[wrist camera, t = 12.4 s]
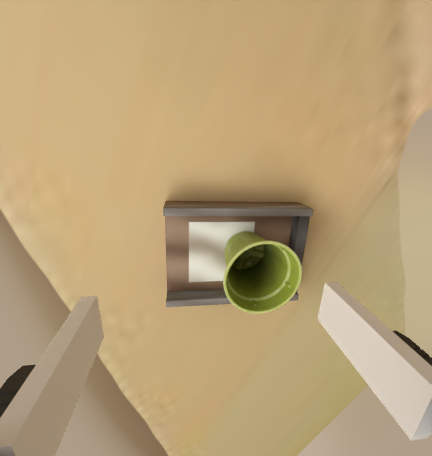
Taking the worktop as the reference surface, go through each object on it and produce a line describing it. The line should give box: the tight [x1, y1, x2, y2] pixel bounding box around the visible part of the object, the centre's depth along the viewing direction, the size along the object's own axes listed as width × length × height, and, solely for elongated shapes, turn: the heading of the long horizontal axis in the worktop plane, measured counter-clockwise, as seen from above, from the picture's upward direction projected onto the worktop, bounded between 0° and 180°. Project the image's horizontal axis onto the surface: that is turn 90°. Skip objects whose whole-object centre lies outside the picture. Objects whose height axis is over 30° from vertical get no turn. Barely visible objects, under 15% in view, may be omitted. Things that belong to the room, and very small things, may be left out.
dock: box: [163, 201, 313, 307], centre depth 35 cm, size 14×20×4 cm
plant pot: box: [223, 231, 302, 314], centre depth 31 cm, size 9×9×9 cm
